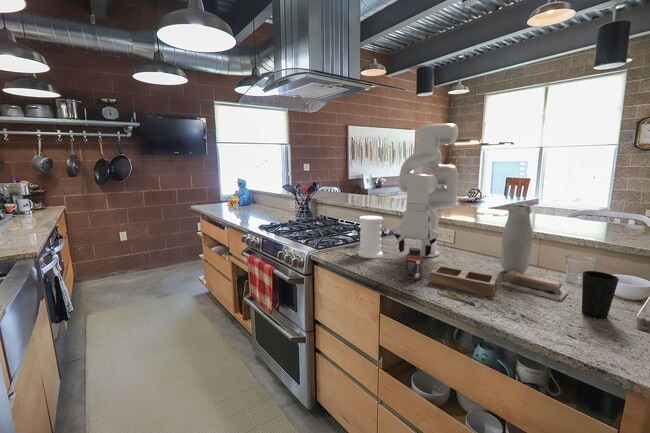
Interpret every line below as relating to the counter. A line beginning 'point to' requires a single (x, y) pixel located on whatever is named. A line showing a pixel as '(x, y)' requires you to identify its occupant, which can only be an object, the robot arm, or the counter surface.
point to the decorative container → (370, 237)
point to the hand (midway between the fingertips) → (414, 253)
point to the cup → (597, 293)
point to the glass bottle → (517, 239)
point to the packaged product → (534, 285)
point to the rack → (464, 280)
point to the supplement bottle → (413, 264)
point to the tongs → (455, 297)
